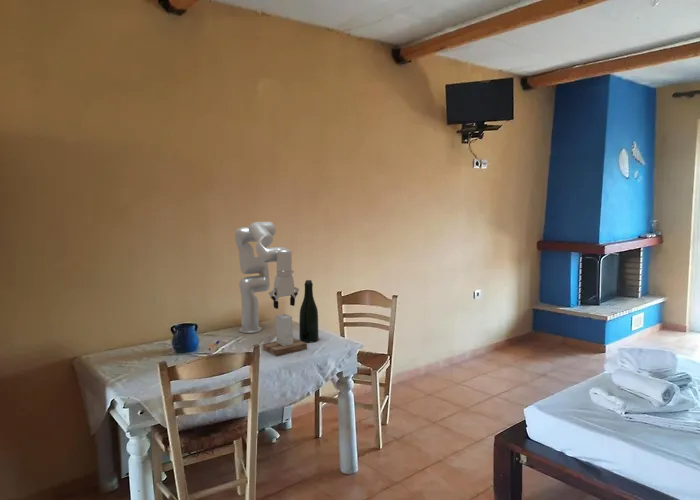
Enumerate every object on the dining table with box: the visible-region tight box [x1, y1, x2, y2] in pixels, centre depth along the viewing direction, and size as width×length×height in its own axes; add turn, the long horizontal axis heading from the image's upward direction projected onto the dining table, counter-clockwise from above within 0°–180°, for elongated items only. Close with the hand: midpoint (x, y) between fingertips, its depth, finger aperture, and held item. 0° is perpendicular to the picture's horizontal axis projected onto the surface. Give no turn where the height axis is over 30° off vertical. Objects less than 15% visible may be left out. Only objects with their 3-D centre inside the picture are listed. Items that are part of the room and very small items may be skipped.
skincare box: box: [274, 313, 294, 346], centre depth 264 cm, size 8×6×15 cm
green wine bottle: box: [298, 279, 320, 343], centre depth 280 cm, size 10×10×33 cm
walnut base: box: [262, 337, 308, 357], centre depth 266 cm, size 13×18×3 cm
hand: (284, 306), depth 263 cm, fingers open, 9 cm apart
